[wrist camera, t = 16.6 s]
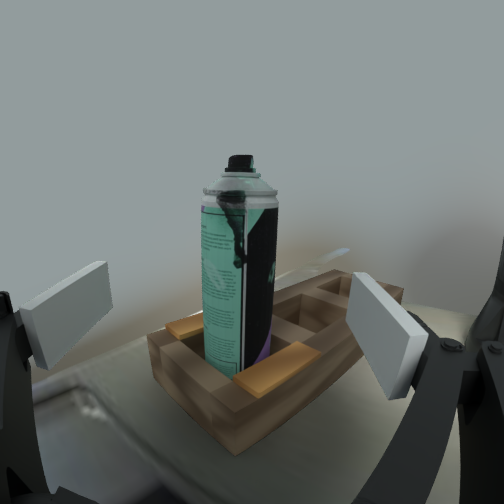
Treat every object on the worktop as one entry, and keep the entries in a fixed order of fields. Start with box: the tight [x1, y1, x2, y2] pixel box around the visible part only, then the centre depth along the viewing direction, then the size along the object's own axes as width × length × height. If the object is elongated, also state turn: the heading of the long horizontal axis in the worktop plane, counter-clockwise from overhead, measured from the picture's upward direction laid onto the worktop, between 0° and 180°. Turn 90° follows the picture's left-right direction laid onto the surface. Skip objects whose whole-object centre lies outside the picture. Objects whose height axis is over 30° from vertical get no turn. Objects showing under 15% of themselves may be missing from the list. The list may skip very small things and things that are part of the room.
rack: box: [147, 270, 404, 456], centre depth 31 cm, size 12×31×6 cm, turn 134°
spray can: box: [201, 155, 278, 381], centre depth 22 cm, size 6×6×20 cm
